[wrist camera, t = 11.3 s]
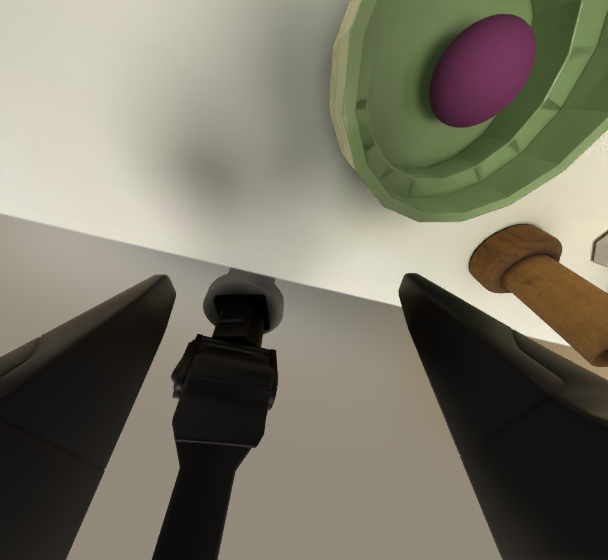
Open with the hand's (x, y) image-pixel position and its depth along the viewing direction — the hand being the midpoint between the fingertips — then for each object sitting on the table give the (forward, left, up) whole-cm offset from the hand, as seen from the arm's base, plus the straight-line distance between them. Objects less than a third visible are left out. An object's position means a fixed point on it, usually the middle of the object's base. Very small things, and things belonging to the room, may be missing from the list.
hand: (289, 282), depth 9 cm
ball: (+6, -10, -9) cm, 15 cm away
